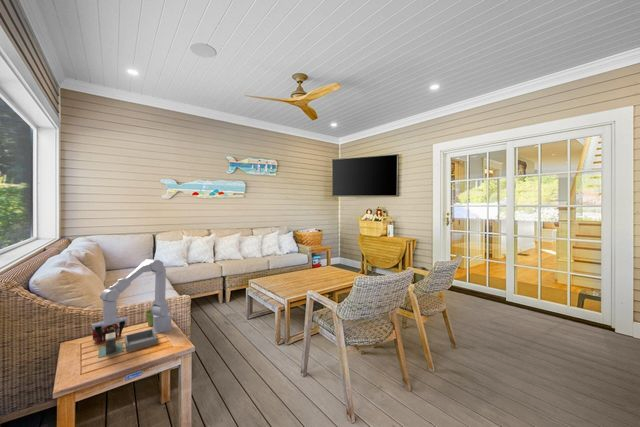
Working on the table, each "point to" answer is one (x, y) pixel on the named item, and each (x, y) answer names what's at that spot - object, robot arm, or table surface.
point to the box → (110, 343)
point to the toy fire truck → (105, 332)
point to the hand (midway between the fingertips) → (110, 338)
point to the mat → (103, 353)
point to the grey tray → (140, 340)
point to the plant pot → (149, 317)
